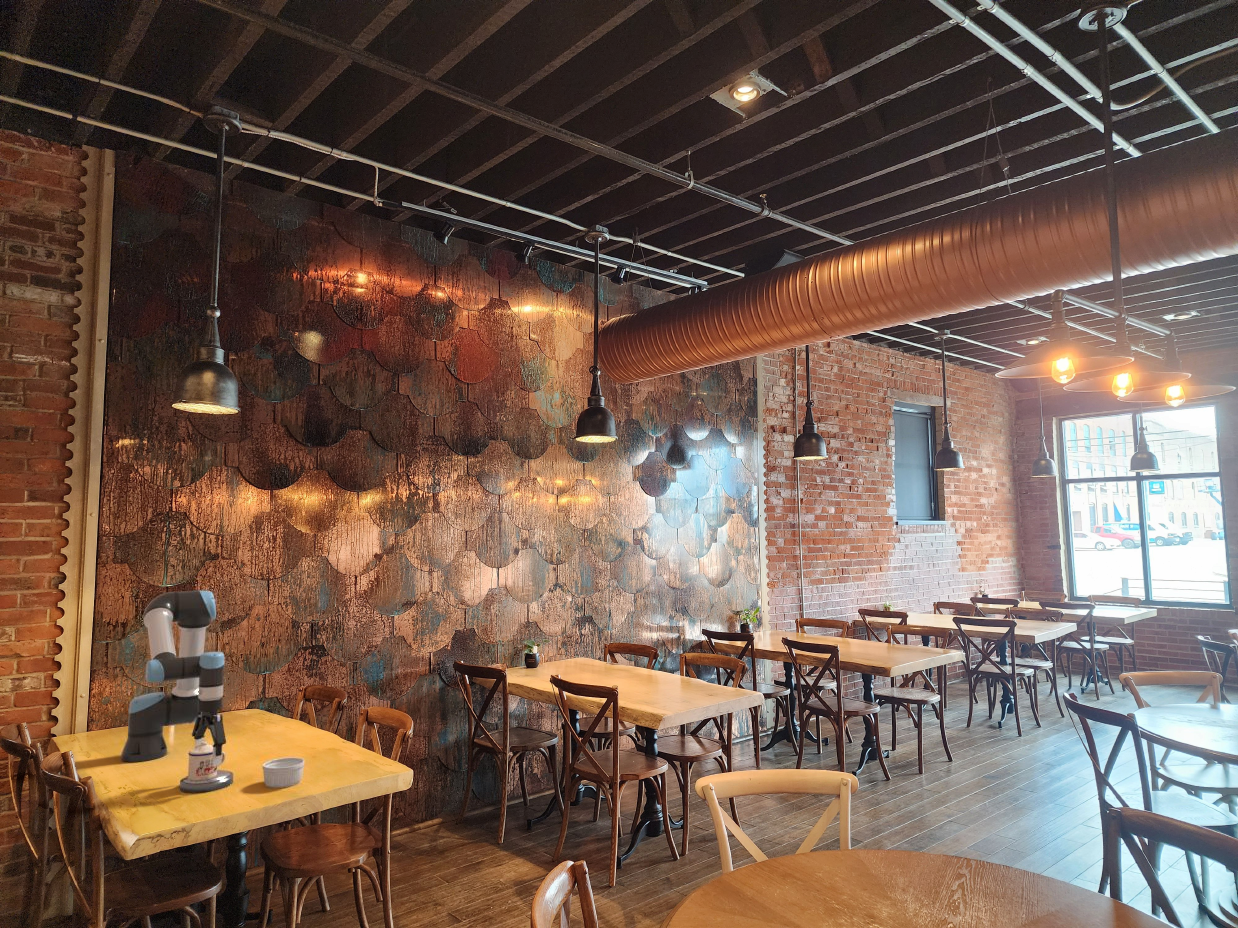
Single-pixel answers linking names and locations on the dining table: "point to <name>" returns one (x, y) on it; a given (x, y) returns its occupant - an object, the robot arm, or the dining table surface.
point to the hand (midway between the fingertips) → (207, 761)
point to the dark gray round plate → (207, 783)
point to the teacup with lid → (202, 763)
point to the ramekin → (283, 772)
